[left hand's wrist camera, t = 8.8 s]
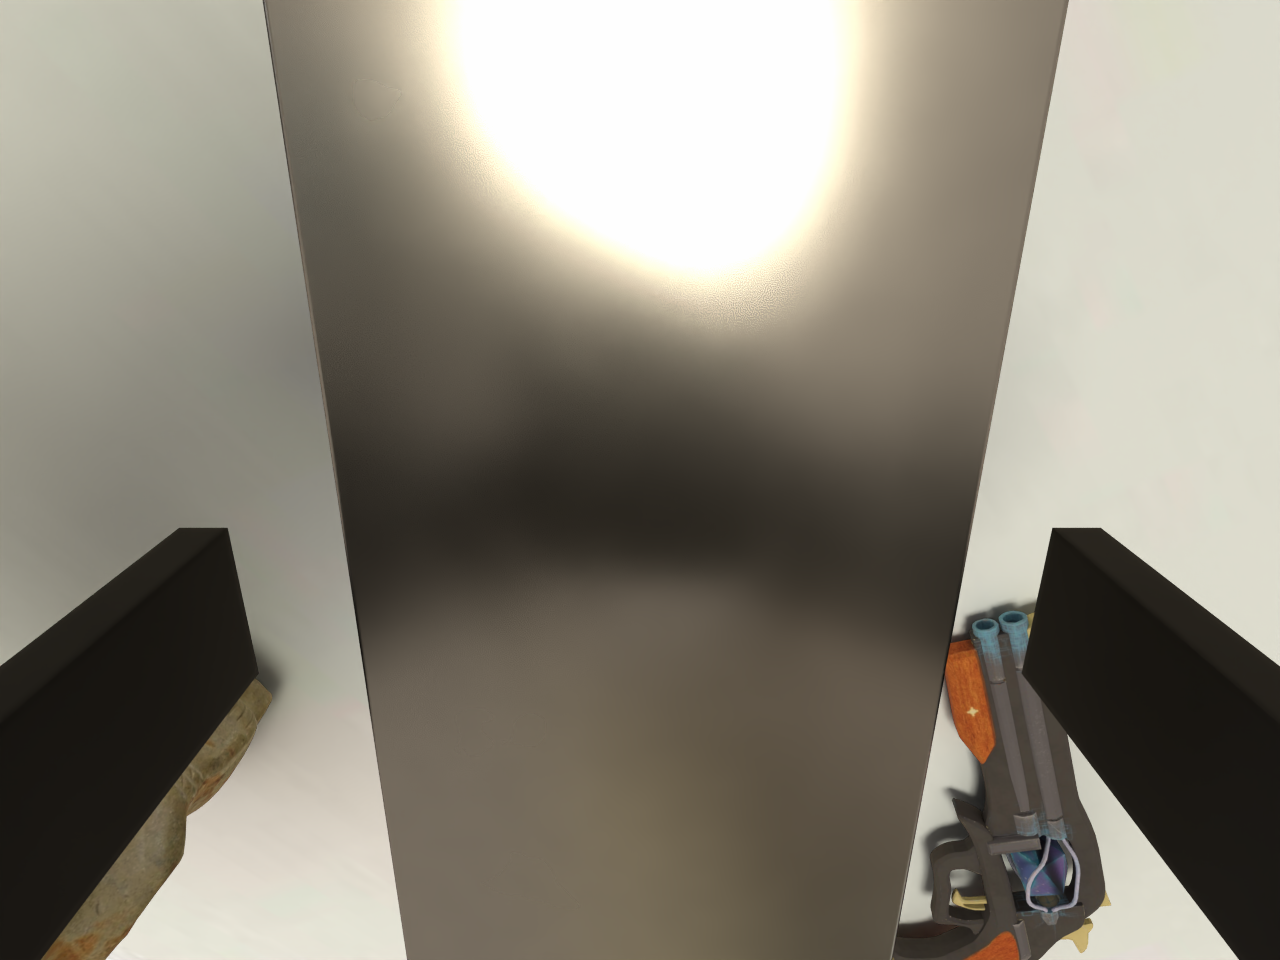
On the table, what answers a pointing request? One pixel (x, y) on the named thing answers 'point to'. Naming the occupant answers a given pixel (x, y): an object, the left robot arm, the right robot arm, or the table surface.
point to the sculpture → (159, 839)
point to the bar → (658, 440)
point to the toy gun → (1011, 814)
